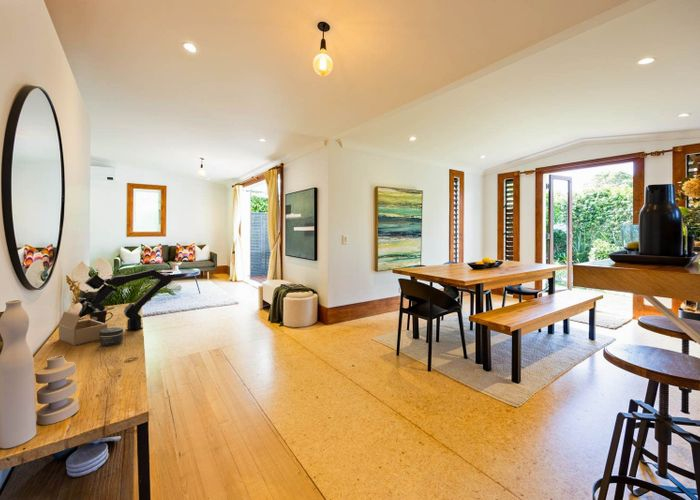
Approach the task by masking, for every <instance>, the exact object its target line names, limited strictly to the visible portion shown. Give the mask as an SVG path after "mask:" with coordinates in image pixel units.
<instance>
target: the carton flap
mask: <svg viewBox="0 0 700 500" xmlns="http://www.w3.org/2000/svg"><path fill="white" fill-rule="evenodd" d="M80 319H81V318H80V316H78V314H74V313H71V312H68V311H63V314H62V316H61V318H60V320H59V323H58V325H63V326H65V327H68V328H71V329H73V330H75V328H76V325H77V323H78V321H80Z"/></svg>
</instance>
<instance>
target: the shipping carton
mask: <svg viewBox="0 0 700 500" xmlns="http://www.w3.org/2000/svg"><path fill="white" fill-rule="evenodd" d="M106 328H108V324H107V323H106V322H105V323H102V322H99V321H95V320H92V319H90V318H89V319H83V320H78V323H77V325H76V328H75V330H73V329H71V328H68V327H65V326H63V325H60V324H58V340H59V341H61V342H64V343H65V344H68V345H71V346H73V347H77V346H79V345H84V344H85V345H86V344H88V343H92V342H97V341H100V337H99V332H100V331H101V330H103V329H106Z"/></svg>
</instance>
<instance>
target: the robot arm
mask: <svg viewBox="0 0 700 500" xmlns="http://www.w3.org/2000/svg"><path fill="white" fill-rule="evenodd" d="M149 277H154V278H156V279H157V280H156V281H155V283H154V284H153V286H151V287H150V288H149V289H148V290H147V291H146V292H145V293H144V294H143V295H142V296H141V297H140V298H138V300H137V301H136V302H133V303H132V302H130V303H129V304H128V305H127V306H125V308H124V311H123V315H124V316H125V317H126V318H127V321H126V322H127V323H126V325H127V328H126V329H125V331H127V332H128V331H131V332H135V331H139V330H141V329H142V330H143V328H142V327H143V326H142V315H141V314H140V311H141V310H142V308H143V307H144V305H145V304H147V302H149V301H150V300H151V299H152V297H154V296H155V295H156V294H157V293H158V292H159V291H160V290H161V289H163V288H165V287H166V286H168V285H169V284H171V282H172V277H171V275H168V274H166V273H165V274H163V273H161V272H158V271H157V270H156V269H153V268H152V269H148V270H143V271H139V272H136V273H135V272H134V273H131V274H126V275H124V274H123V275H113V276H111V278H106V279H103V278H102V277H100V276H99V275H98V274H97V273H95V274H93V276H91V277H89V278H88V279H87V280H86V281H85V282H84V284H85V285H87V286H88V287H90V288H91V289H93V290H97V291H96V292H93V291H87V292H85V291H80V292H79V293H78V296H77V297H78V298H79V299H78V300H77V301H76V302H77V303H79V304H80V305H81V309H80V311H79V312H78V314H77V315H78V316H80V318H79V319H81V318H83V317H85V316H88V315H90V313H93V312H96V309H98V310H99V311H101V312H103V311H104V309H106V306H104V305H103V304H102V303H103V302H104V301H107V298H108V297H109V296H110V295H111V294H112V293H113V294H116V293H117V294H118V287H122V286H124V285H126V284H127V283H131V282H133V281H138V280H142V279H146V278H149Z"/></svg>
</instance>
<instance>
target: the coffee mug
mask: <svg viewBox="0 0 700 500" xmlns="http://www.w3.org/2000/svg"><path fill="white" fill-rule="evenodd" d="M108 314H111V316H110V318H108V319H107V315H108ZM112 318H113V313H112V312H110V311H108V309H107V308H105V309H104V311H103V312H101V311H99V310H98V309H96V312H93V313H90V314H89V319H92V320H95V321H99V322H102V323H105V324H106V322H108V321H109V320H111V319H112Z"/></svg>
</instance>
